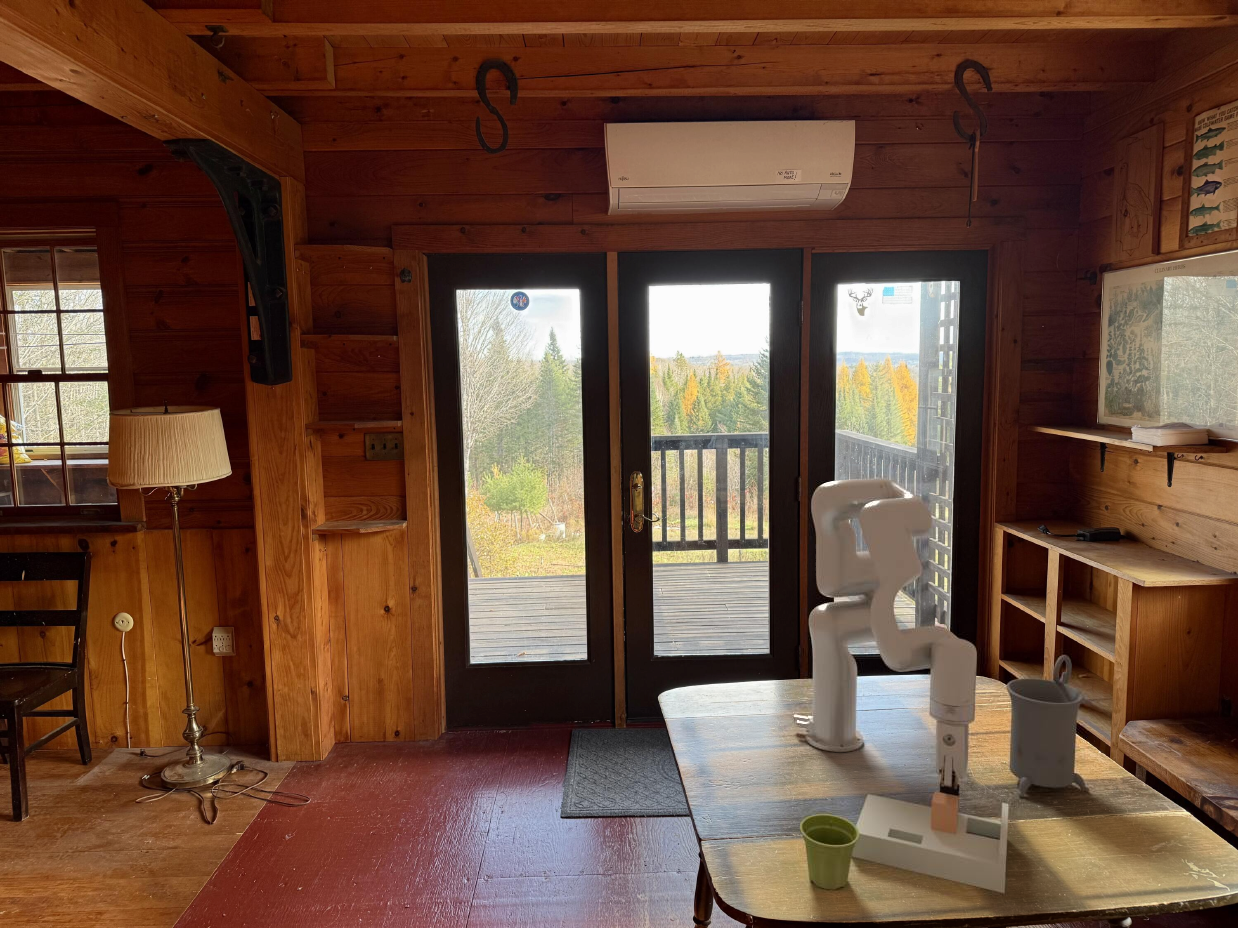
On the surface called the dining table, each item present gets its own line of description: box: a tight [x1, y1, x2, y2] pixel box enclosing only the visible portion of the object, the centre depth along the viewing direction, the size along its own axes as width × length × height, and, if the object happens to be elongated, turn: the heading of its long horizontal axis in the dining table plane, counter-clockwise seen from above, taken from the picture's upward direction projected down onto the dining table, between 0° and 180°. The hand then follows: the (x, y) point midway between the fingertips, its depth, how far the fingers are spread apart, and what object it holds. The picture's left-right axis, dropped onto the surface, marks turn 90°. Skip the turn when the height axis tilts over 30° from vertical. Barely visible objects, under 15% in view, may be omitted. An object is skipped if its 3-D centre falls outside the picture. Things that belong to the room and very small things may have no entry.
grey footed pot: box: [1005, 654, 1090, 798], centre depth 165 cm, size 19×15×25 cm
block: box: [931, 790, 960, 834], centre depth 146 cm, size 4×4×5 cm
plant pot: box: [799, 813, 859, 891], centre depth 136 cm, size 9×9×9 cm
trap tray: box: [851, 793, 1009, 894], centre depth 144 cm, size 24×17×6 cm
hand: (949, 805), depth 151 cm, fingers closed
